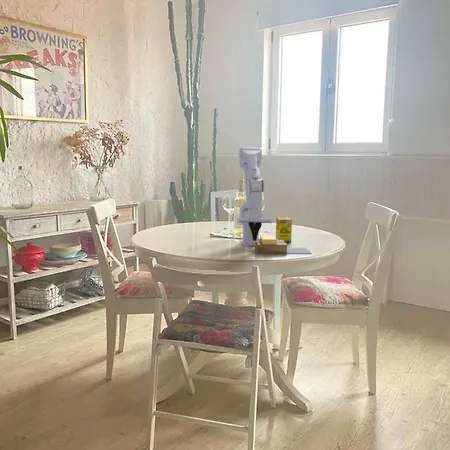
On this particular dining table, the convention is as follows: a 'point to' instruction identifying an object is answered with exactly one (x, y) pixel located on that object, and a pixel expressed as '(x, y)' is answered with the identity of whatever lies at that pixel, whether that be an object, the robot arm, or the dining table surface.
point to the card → (268, 240)
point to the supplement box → (284, 229)
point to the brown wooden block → (271, 247)
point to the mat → (298, 251)
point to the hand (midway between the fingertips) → (254, 240)
